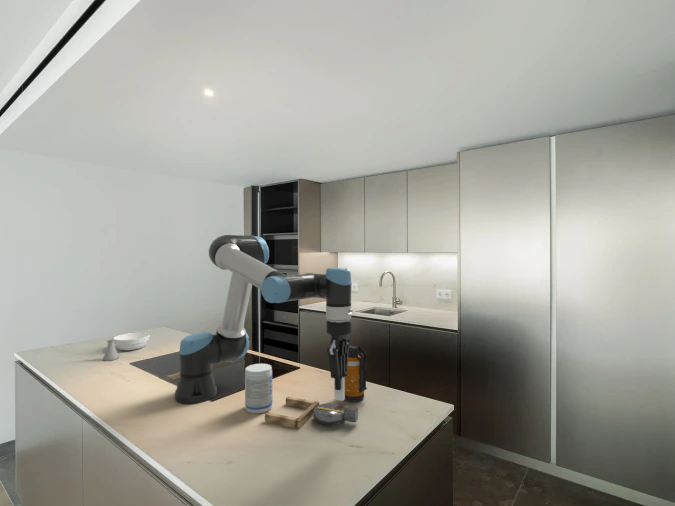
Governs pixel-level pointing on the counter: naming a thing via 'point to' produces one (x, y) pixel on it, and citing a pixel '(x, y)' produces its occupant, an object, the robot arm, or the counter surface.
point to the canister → (355, 374)
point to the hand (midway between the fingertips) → (339, 399)
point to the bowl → (131, 341)
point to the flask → (110, 351)
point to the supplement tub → (258, 388)
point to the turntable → (335, 413)
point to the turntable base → (329, 424)
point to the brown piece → (291, 420)
